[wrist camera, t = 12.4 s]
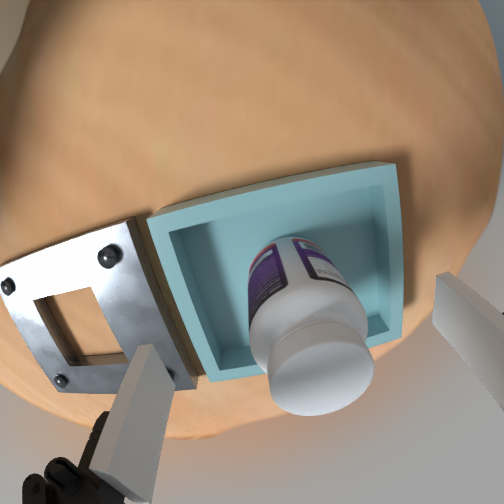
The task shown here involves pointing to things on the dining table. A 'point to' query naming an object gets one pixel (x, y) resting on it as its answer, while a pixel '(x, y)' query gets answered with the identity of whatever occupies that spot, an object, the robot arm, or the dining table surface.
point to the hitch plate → (110, 300)
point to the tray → (269, 229)
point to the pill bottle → (306, 328)
